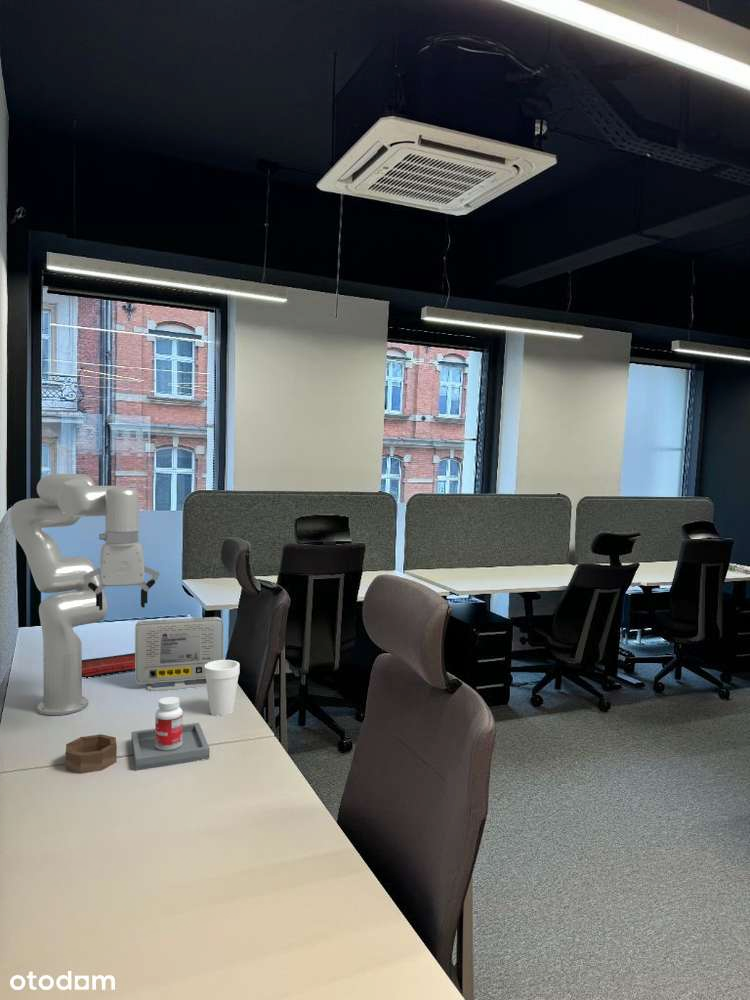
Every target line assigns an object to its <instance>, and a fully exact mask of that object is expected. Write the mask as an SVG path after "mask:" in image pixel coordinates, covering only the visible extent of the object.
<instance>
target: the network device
mask: <svg viewBox="0 0 750 1000" xmlns="http://www.w3.org/2000/svg"><path fill="white" fill-rule="evenodd" d="M134 653H135V671H134V680H135V682H136V684H138V685H143V684H145V685H146V690H147V691H148V690H149V691H148V692H151V691H159V692H168V690H171V691H180V690H179V689H183V690H188V689H187V688H194V689H197V688H196V687H205V686H207V684H196V685H186V683H185V682H186V681H185V680H190V681H197V680H196V679H206V676H205V664H207V663H208V662H212V661H217V660H224V622H223V620H222V618H220V617H218V616H212V617H211V616H209V617H193V618H192V617H191V618H190V617H189V618H174V619H173V618H172V619H171V618H169V619H153V620H151V619H150V620H139V621H137V622H136V624H135V627H134ZM159 682H160V683H159ZM161 682H166V683H174V685H173V686H171V687H159V688H152V685H153V684H152V683H154V684H162V683H161ZM151 684H152V685H151ZM205 688H206V687H205Z"/></svg>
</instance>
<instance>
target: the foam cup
mask: <svg viewBox="0 0 750 1000" xmlns="http://www.w3.org/2000/svg"><path fill="white" fill-rule="evenodd" d="M240 667H241V666H240V662H238V661H236V660H232V659H223V660H217V661H212V662H208V663H207V664H205V676H206V680H205V681H206V684H207V687H206V690H207V691H206V692H207V699H208V700H207V701H208V706H209V712H210V713H211V714H210V713H209V714H210V715H212V714H214V715H213V716H215V715H225V716H227V715H226V714H229V713H231V714H232V713H234V709H235V703H236V695H237V690H238V682H239V681H238V680H239V676H240V673H241V672H240V669H241V668H240ZM229 715H230V714H229Z"/></svg>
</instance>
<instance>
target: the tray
mask: <svg viewBox="0 0 750 1000" xmlns="http://www.w3.org/2000/svg"><path fill="white" fill-rule="evenodd" d="M130 740H131V747H132V749H131V750H132V753H133V754H132V755H133V760H134V766H135V771H142V770H147V769H155V768H160V767H167V766H173V765H179V764H186V763H191V762H198V761H197V760H199V761H203V760H202V759H206V760H209V759H210V751H211V750H210V746H209V744H208V742H207V739H206V736H205V734H204V732H203V730H202V728H201V725H200V722H195V723H194V722H193V723H186V724H183V738H182V745H181V746H180V747H179V748H177V749H174V750H169V751H163V750H159V749H158V748H156V745H155V728H151V729H143V730H133V731H131V739H130ZM208 758H209V759H208Z"/></svg>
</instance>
